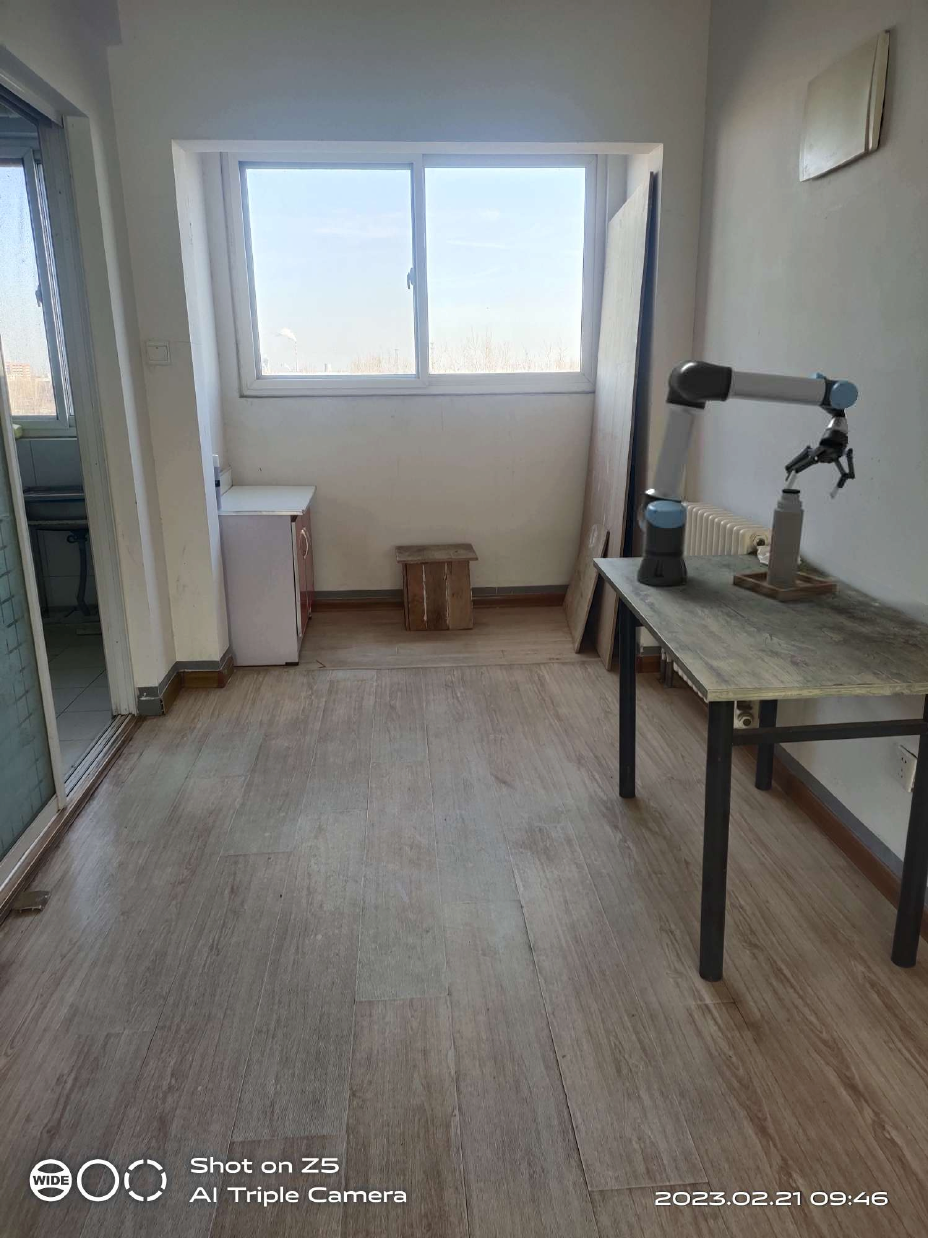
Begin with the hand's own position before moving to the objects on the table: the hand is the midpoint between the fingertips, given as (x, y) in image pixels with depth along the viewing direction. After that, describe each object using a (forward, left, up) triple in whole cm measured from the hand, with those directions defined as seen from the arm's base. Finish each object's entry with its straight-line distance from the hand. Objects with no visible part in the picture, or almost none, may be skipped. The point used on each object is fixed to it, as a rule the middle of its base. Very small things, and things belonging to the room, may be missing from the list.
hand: (808, 493), depth 242 cm
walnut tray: (+3, -9, -27) cm, 29 cm away
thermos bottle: (+3, -9, -26) cm, 28 cm away
